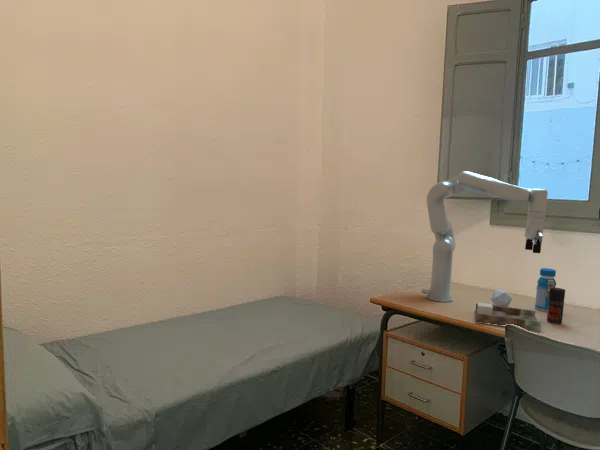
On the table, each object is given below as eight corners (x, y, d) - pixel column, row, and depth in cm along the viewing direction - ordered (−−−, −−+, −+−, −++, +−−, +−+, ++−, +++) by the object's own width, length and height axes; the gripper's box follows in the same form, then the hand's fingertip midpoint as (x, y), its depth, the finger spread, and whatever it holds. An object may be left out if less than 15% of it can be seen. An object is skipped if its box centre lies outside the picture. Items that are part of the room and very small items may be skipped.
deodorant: (543, 319, 214) (547, 287, 212) (556, 320, 214) (559, 287, 213) (551, 324, 208) (555, 290, 206) (564, 324, 208) (568, 290, 207)
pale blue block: (477, 314, 210) (478, 305, 210) (477, 311, 216) (477, 302, 215) (492, 316, 208) (492, 307, 208) (491, 312, 214) (492, 304, 213)
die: (508, 311, 228) (518, 294, 230) (492, 301, 229) (501, 284, 231) (500, 313, 236) (510, 296, 238) (485, 303, 237) (494, 286, 239)
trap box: (476, 322, 204) (477, 313, 204) (475, 311, 222) (476, 303, 222) (540, 331, 196) (541, 322, 196) (534, 319, 214) (535, 310, 214)
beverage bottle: (532, 309, 231) (536, 269, 229) (536, 306, 238) (540, 266, 236) (552, 313, 226) (556, 271, 224) (555, 309, 233) (559, 269, 231)
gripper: (521, 213, 231) (517, 248, 233) (534, 216, 214) (530, 253, 216) (537, 214, 230) (533, 249, 232) (552, 217, 213) (548, 254, 215)
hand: (532, 251), depth 224 cm, fingers open, 9 cm apart
